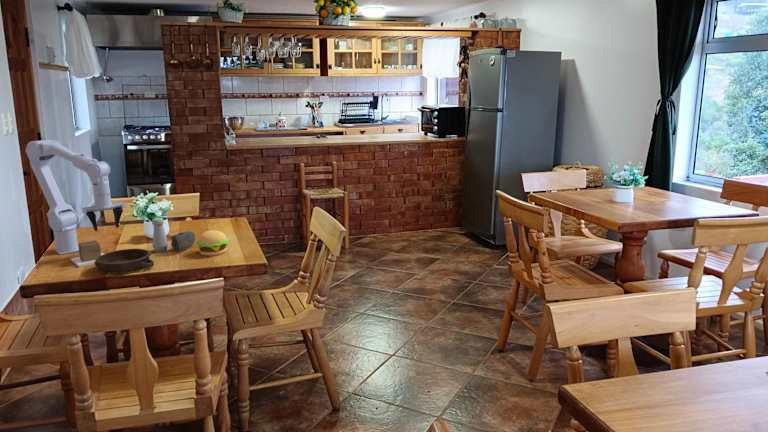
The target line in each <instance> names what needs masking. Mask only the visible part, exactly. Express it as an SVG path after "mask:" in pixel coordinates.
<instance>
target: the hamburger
mask: <svg viewBox="0 0 768 432" xmlns="http://www.w3.org/2000/svg"><path fill="white" fill-rule="evenodd" d="M229 241H230V240H229V238H227V236H226V234H225V233H224V232H222V231H220V230H216V229H211V230H207V231H204V232H202V234H200V235H199V237H198V240H196V245H197V250H198V251H199V253H200V254H201V255H203V256H205V257H207V256H208V257H210V256H211V257H213V256H215V257H216V256H220V255H223V254H225V253H226V252H227V250H228V247H227V246H228V245H229V243H228V242H229Z"/></svg>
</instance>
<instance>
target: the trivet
mask: <svg viewBox="0 0 768 432" xmlns="http://www.w3.org/2000/svg"><path fill="white" fill-rule="evenodd" d="M103 254H105V253H104V252H101V255H103ZM70 261H71V262H72V263H74V264H75V265H76V266H77V267H78V268H82V267H87V266H92V265H95V263H94V262H95V261H96V260H92V261H87V262H83V261H82V260H81V259H80V256H76V257H72V258H70Z"/></svg>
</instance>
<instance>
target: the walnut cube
mask: <svg viewBox="0 0 768 432" xmlns="http://www.w3.org/2000/svg"><path fill="white" fill-rule="evenodd" d="M78 248H79V251H78V254H79V257H80V259H81V260H82V261H83V262H87V261H92V260H96V259H97V258H98V257H99V256H101V253H102V251H101V245H100V242H98V241H97V240H96V239H93V240H88V241H82V242H78Z"/></svg>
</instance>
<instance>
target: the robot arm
mask: <svg viewBox="0 0 768 432" xmlns="http://www.w3.org/2000/svg"><path fill="white" fill-rule="evenodd" d="M24 152H25V153H26V155H27V158H28V159H29V163H30V168H31V169H32V171H33V174H34V176H35V178H36V180H37V182H38V185H39V186H40V188H41V191H42V192H43V195H44V198H45V200H46V202H47V204H48V206H49V209H48V212H47V213H46V217H47V219H48V220H47V221H48V225H49V228H50V229H51V230H52V231H53V232H54V239H55V245H56V248H53V250H54V251H55V252H56V253H57V254H58V255H65V254H71V253H77V252H79V248H78V243H79V242H78V236H77V228H78V224H79V222H80V216H79V214H78V212H76V211H75V210H74V208H73V206H72V205H70V204H68V203H66V202H65V199H64V198H63V196H62V193H61V191H60V189H59V186H58V184H57V182H56V180H55V177H54V176H53V173H52V170H51V169H50V167H49V165H50V162H52V160H53V159H54V158H55V157H56V156H57V157H60V158H62V159H64V160H67V161H69V162H71V164H72V166H73V167H74V168H76V169H78V170H80V171H82V172H84V173H86V175H87V176H88V178H89V179H90V182H91V185H92V186H91V187H92V193H93V194H92V195H93V200H94V205H91V206H86V207H81V210H82V214H85V216H86V217H87V218H88V219H89V221H90V223H91V225H92V228H93V231H94V232H98V225H97V215H96V214H95V213H96V212H103V211H110V210H112V212H113V217H114V218H113V219H114V226H115V228H120V220H121V217H122V214H123V209H124V208H126V207H125V202H123V201H121V202H112V197H111V196H112V195H111V189H110V180H109V175H110V174H111V171H112V169H111V166H110V164H109V163H108V162H107V161H105V160H101V161H99V160H98V159H96V158H93V157H90V156H89V155H87V153H85V152H79V153H76V152H74V151H72V150H71V149H69V148H67V147H66V146H64V145H62V144H61V143H60V141H58V140H55V139H53V138H47V139H42V140H41V139H40V140H31V141H29V142H28V143H27V145H26V147H25V150H24Z"/></svg>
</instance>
